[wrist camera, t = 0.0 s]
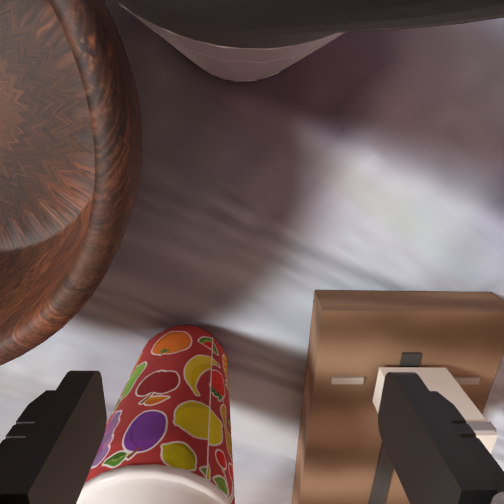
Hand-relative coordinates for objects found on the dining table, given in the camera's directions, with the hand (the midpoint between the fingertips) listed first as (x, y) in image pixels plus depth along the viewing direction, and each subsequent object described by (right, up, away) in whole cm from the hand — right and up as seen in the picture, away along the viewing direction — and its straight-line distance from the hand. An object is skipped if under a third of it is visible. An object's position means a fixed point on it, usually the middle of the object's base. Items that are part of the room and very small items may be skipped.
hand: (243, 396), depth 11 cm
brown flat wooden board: (+12, -12, +24) cm, 29 cm away
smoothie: (-5, -4, +20) cm, 21 cm away
